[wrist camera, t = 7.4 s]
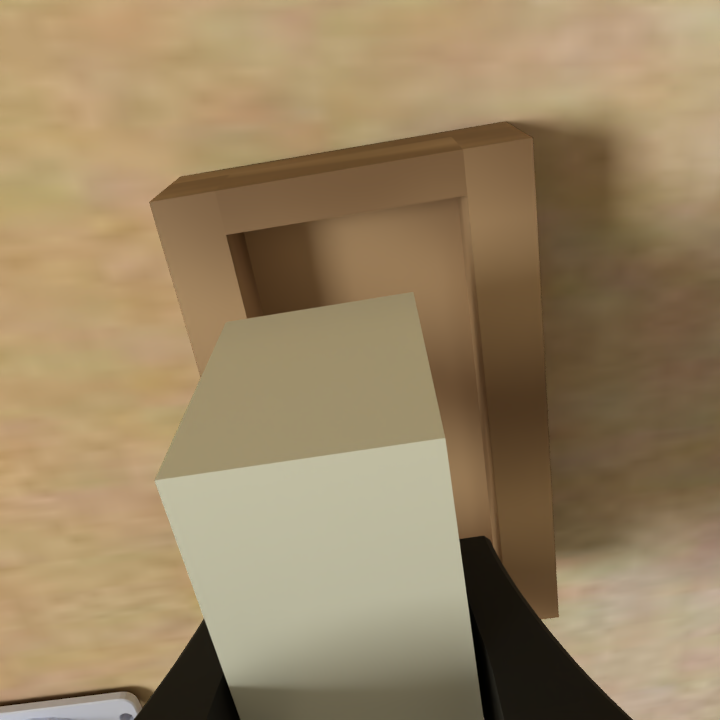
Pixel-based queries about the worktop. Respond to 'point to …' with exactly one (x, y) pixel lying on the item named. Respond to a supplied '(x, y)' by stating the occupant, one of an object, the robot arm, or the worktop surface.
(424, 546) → the white rectangular block
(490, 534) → the wooden tray
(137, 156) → the worktop surface
